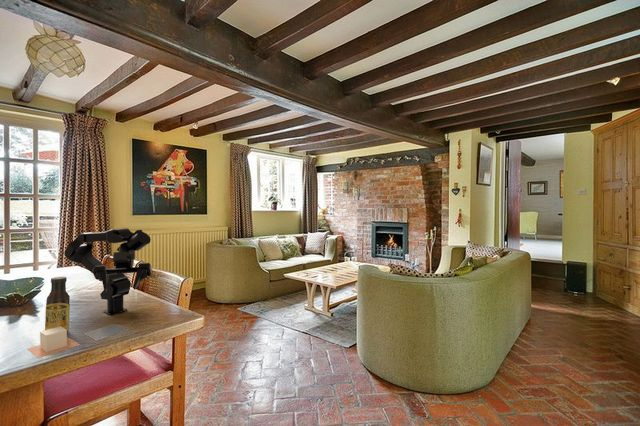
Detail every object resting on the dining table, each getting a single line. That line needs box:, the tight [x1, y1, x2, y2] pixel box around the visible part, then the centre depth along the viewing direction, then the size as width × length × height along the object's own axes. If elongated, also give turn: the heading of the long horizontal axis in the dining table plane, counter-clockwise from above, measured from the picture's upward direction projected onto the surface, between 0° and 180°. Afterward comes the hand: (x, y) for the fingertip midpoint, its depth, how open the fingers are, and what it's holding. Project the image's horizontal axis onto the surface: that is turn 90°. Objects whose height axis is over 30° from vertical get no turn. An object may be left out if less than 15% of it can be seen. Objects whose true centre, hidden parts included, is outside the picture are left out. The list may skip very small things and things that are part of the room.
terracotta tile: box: [26, 336, 81, 359], centre depth 95 cm, size 10×10×1 cm
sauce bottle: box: [44, 276, 71, 335], centre depth 104 cm, size 6×6×20 cm
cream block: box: [39, 326, 68, 352], centre depth 95 cm, size 5×5×5 cm
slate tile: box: [82, 323, 130, 342], centre depth 106 cm, size 10×10×1 cm
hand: (119, 290), depth 113 cm, fingers open, 9 cm apart
